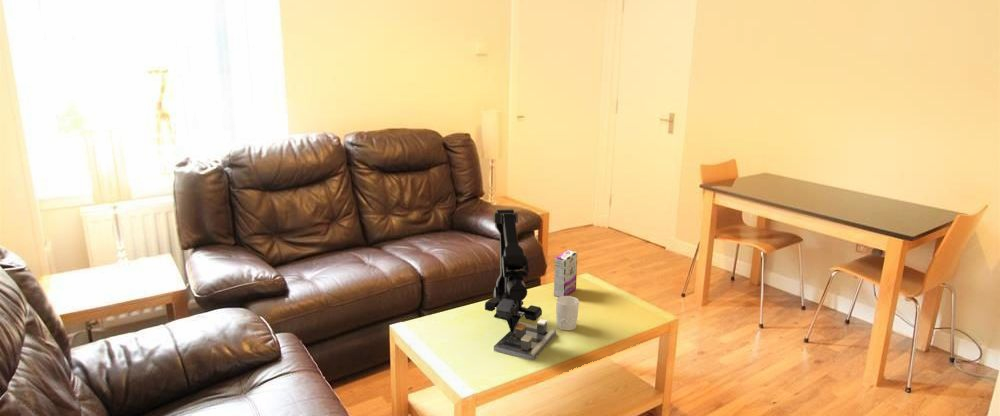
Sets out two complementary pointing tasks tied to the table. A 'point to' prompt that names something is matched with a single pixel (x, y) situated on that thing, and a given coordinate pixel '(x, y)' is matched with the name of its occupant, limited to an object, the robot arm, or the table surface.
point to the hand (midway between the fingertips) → (512, 331)
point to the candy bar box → (565, 273)
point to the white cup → (567, 312)
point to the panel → (513, 343)
